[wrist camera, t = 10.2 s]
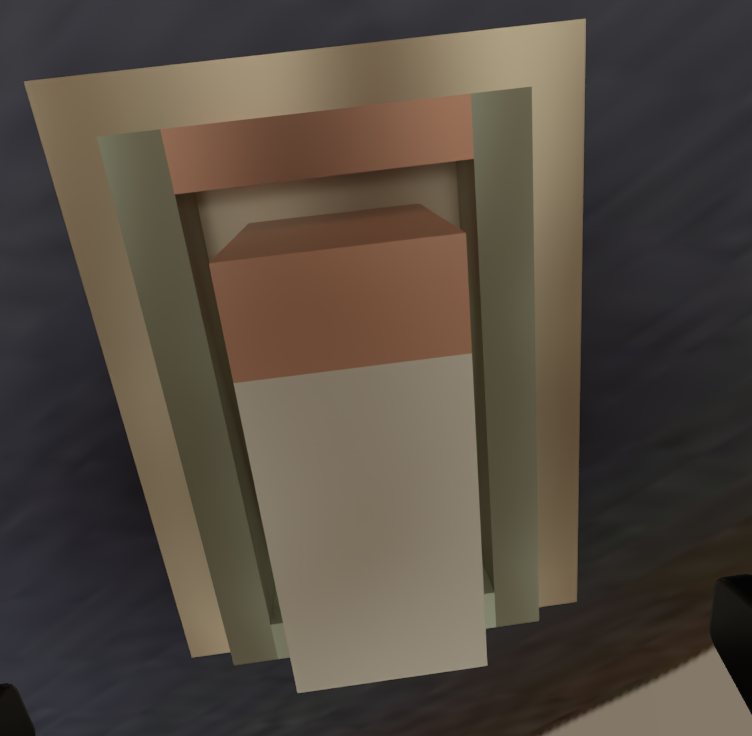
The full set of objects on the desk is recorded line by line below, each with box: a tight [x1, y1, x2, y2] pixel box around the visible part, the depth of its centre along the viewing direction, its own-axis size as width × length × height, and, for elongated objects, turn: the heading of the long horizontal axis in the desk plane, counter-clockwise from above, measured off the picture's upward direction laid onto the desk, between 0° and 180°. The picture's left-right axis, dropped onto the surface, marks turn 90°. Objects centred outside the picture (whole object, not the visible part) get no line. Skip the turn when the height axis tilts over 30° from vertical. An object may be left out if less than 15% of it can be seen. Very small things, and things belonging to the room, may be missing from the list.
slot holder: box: [24, 19, 586, 665], centre depth 15 cm, size 12×16×2 cm
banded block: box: [209, 203, 487, 693], centre depth 13 cm, size 9×4×5 cm, turn 6°
